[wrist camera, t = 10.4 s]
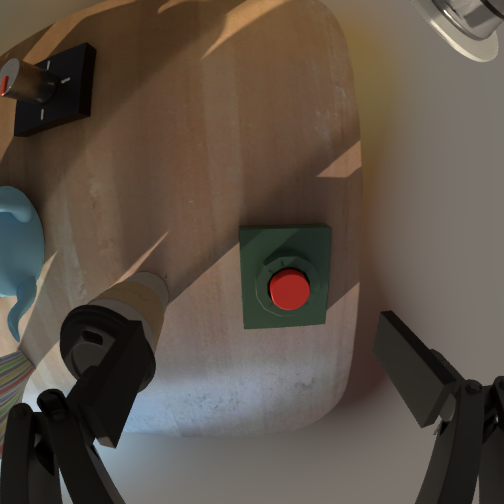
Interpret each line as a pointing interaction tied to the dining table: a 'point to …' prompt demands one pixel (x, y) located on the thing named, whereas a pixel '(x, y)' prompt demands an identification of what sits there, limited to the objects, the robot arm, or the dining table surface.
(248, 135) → the dining table surface
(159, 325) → the coffee cup
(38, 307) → the dining table surface
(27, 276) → the teapot
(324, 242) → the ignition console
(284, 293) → the button
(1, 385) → the vase
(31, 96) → the stove knob
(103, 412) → the robot arm
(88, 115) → the panel
